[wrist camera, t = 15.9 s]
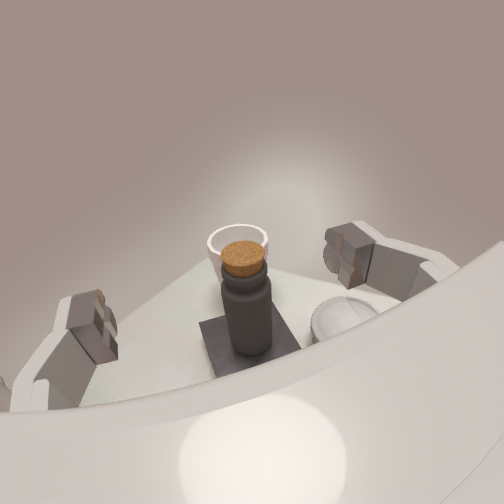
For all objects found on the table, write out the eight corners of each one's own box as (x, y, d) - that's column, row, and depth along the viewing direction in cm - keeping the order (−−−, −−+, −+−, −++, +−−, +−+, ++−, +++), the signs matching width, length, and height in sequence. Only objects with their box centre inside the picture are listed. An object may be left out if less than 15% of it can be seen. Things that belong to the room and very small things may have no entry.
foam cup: (234, 277, 56) (226, 220, 48) (277, 289, 52) (276, 229, 45) (208, 309, 49) (195, 249, 41) (256, 325, 45) (250, 263, 38)
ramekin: (385, 333, 41) (394, 311, 38) (358, 384, 34) (368, 365, 31) (329, 308, 47) (332, 286, 44) (294, 352, 40) (296, 330, 37)
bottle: (262, 318, 41) (257, 232, 33) (279, 347, 37) (279, 259, 28) (225, 331, 40) (208, 245, 31) (239, 361, 35) (224, 276, 26)
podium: (225, 400, 34) (220, 388, 32) (203, 338, 43) (198, 322, 41) (304, 372, 37) (307, 357, 35) (272, 317, 46) (271, 300, 44)
